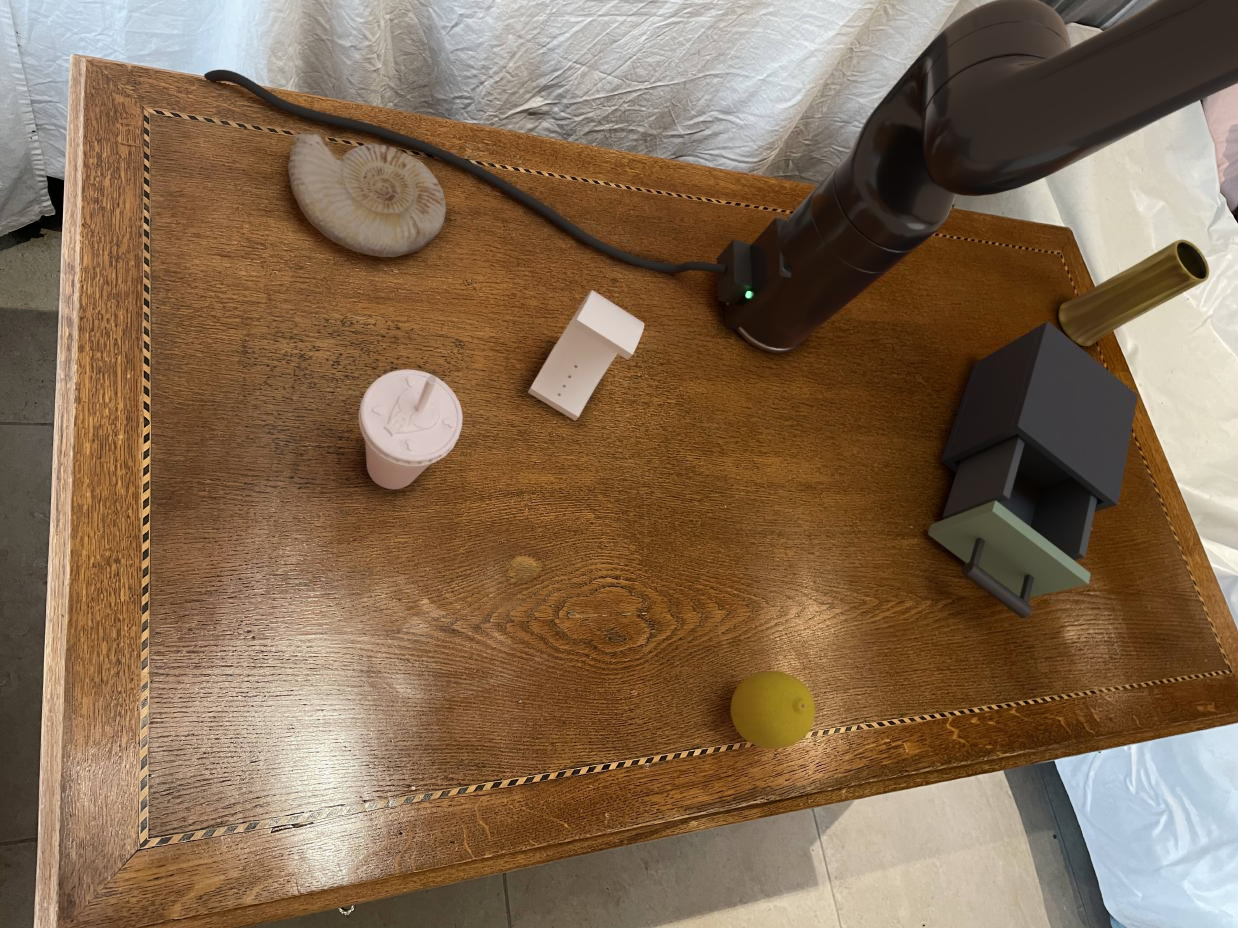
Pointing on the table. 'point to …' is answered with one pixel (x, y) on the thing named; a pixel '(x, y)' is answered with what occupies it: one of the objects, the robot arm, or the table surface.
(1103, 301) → the vase
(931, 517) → the table surface
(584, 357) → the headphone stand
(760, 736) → the lemon
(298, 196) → the fossil
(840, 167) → the robot arm
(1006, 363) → the cabinet
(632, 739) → the table surface
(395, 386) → the smoothie
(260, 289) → the table surface
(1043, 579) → the drawer
